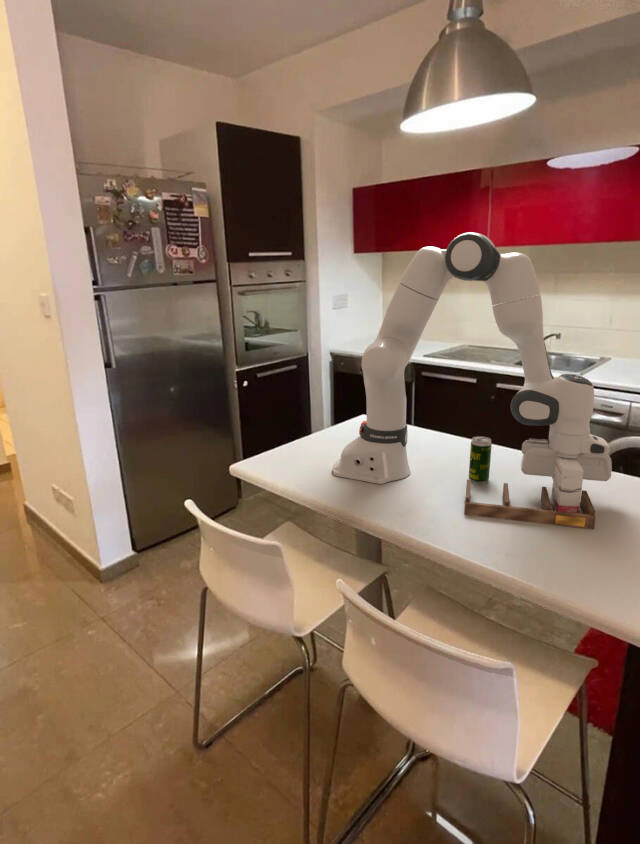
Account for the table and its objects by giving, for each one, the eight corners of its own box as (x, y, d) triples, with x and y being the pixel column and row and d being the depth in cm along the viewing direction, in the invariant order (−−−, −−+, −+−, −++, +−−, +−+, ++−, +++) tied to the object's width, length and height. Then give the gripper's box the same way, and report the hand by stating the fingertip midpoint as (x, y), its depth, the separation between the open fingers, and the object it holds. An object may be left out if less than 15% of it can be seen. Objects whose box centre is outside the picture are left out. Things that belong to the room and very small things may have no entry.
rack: (464, 515, 122) (465, 500, 121) (466, 493, 133) (467, 479, 132) (594, 530, 114) (596, 513, 113) (584, 505, 125) (586, 490, 124)
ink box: (578, 517, 120) (585, 470, 116) (556, 515, 121) (562, 469, 117) (571, 501, 128) (577, 457, 124) (550, 499, 129) (555, 455, 125)
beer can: (477, 474, 145) (480, 434, 141) (492, 481, 140) (496, 440, 137) (464, 479, 142) (466, 438, 138) (479, 486, 138) (482, 444, 134)
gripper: (523, 442, 125) (518, 493, 129) (617, 448, 119) (609, 502, 123) (521, 434, 130) (517, 483, 135) (611, 439, 125) (603, 491, 129)
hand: (561, 492), depth 129 cm, fingers closed, pressing on ink box
